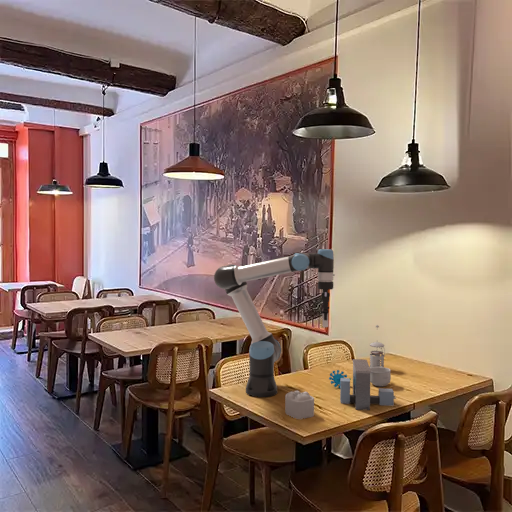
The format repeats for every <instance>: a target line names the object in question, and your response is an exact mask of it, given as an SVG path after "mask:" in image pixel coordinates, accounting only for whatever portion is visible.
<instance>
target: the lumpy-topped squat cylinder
mask: <svg viewBox="0 0 512 512" xmlns="http://www.w3.org/2000/svg"><path fill="white" fill-rule="evenodd" d="M284 398H285V399H284V400H285V402H284V403H285V404H284V405H285V406H284V408H285V409H284V411H285V415H287V416H288V415H289V417H290V416H291V417H290V418H292V417H293V419H295V418H296V419H295V420H304V419H307V418H313V417H314V416H315V397H314V396H311V395H310V393H309V392H308V391H303V392H301V391H299V390H294V391H289V392H287V393H286V394H285V397H284ZM303 418H304V419H303Z"/></svg>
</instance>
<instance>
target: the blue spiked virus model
mask: <svg viewBox="0 0 512 512" xmlns="http://www.w3.org/2000/svg"><path fill="white" fill-rule="evenodd" d="M347 377H348V375H347V374H344V370H343V371H341V372H340V370H339V369H336V370H332V372H331V373H329V378H328V380H329V381H330V384H331V385H333V387H334V388H337V387H338V389H340V380H341V378H347ZM348 378H349V379H350V381H351V380H352V378H351V377H348Z"/></svg>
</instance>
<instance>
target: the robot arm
mask: <svg viewBox="0 0 512 512" xmlns="http://www.w3.org/2000/svg"><path fill="white" fill-rule="evenodd" d="M334 256H335V254H334V251H333V249H331V248H330V249H329V248H328V249H326V248H324V249H322V248H321V249H318V251H317V253H316V252H314V253H313V252H312V253H311V252H296V253H294V254H293V255H290V256H285V257H279V258H276V259H270V260H265V261H260V262H257V263H252V264H247V265H241V266H239V265H236V264H228V265H223V266H219V267H218V268H217V269H216V270H215V272H214V275H213V281H214V283H215V285H216V286H217V288H219V289H221V290H224V291H225V293H226V295H227V296H229V297H231V299H232V301H233V303H234V305H235V307H236V309H237V310H238V313H239V315H240V317H241V319H242V322H243V323H244V324H245V327H246V329H247V331H248V333H249V336H250V337H251V343H250V346H249V350H248V351H249V352H248V353H249V359H248V360H249V368H248V369H249V377H248V379H247V382H246V386H245V394H246V393H247V394H246V395H248V394H249V395H248V396H250V395H252V396H251V397H254V396H258V397H257V398H268V397H269V398H270V397H273V396H276V395H277V394H278V386H277V382H276V379H275V376H274V375H275V370H274V369H275V368H274V367H275V362H276V361H278V360H279V358H280V356H281V353H282V348H281V347H282V346H281V345H280V342H279V341H278V340H277V339H275V337H274V335H273V333H272V332H269V331H268V330H267V328H266V326H265V324H264V322H263V319H262V318H261V316H260V313H259V312H258V310H257V308H256V306H255V303H254V301H253V299H252V297H251V295H250V293H249V291H248V289H247V288H248V282H250V281H255V280H260V279H264V278H265V279H266V278H268V277H270V278H271V277H273V276H274V277H275V276H279V275H284V274H289V273H294V272H301V271H305V270H306V269H307V270H308V269H309V270H310V269H312V270H313V269H315V270H316V269H317V289H319V290H322V292H321V302H322V311H320V313H321V314H322V315H321V316H322V321H321V322H322V327H323V328H329V309H330V306H329V302H330V297H331V296H330V295H331V293H330V292H329V290H333V289H334V277H335V275H336V274H334V268H335V267H334V265H335V264H334V263H335V259H334Z"/></svg>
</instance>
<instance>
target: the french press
mask: <svg viewBox="0 0 512 512" xmlns="http://www.w3.org/2000/svg"><path fill="white" fill-rule="evenodd" d="M375 328H376V329H378V328H380V326H379V325H378V324H376V325H375ZM369 346H370V347H372V348H379V349H381V348H382V349H383V350H371V351H370V353H369V367H370V368H374V367H384V368H385V354H386V349H385V344H384V343H382V342H378V341H374V342H371V343H369Z"/></svg>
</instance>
